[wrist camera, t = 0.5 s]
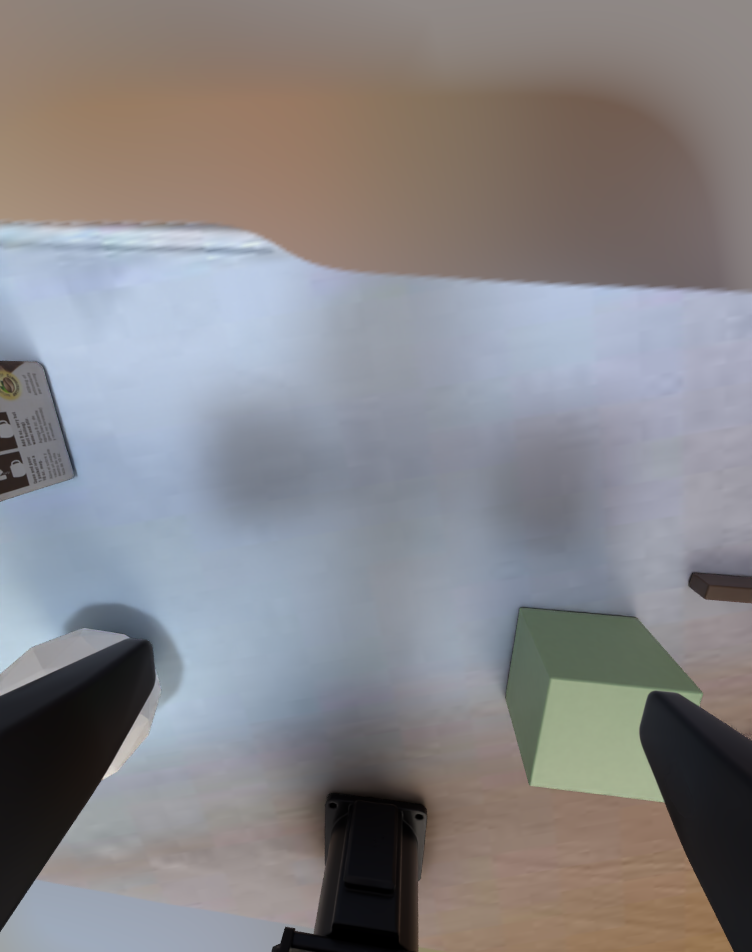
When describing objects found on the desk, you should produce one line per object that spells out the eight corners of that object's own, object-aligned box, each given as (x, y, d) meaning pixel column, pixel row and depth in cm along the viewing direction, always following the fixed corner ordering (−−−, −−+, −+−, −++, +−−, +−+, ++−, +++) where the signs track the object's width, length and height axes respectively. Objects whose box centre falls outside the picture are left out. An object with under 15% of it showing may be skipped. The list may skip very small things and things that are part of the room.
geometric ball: (137, 603, 27) (44, 592, 19) (210, 697, 25) (136, 725, 17) (34, 695, 25) (-115, 722, 17) (103, 805, 23) (-32, 890, 15)
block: (613, 709, 22) (668, 803, 18) (504, 697, 23) (528, 786, 18) (637, 617, 21) (704, 693, 16) (519, 606, 21) (550, 677, 16)
